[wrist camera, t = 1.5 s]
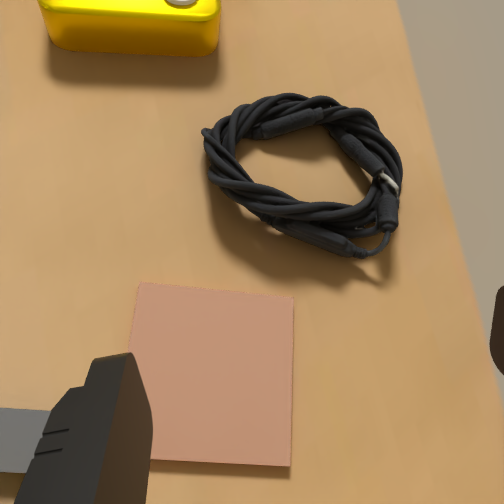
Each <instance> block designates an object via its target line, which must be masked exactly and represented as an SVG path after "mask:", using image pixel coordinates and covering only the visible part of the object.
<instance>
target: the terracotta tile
mask: <svg viewBox="0 0 504 504" xmlns="http://www.w3.org/2000/svg"><path fill="white" fill-rule="evenodd" d="M293 303H294V297H285V296H275V295H265V294H255V293H245V292H236V291H226V290H216V289H206V288H196V287H186V286H176V285H166V284H157V283H147V282H139V288H138V293H137V299H136V305H135V311H134V317H133V323H132V329H131V335H130V340H129V346H128V352H131V353H132V354H133V355H134V357H135V360H136V362H137V366H138V369H139V372H140V375H141V378H142V381H143V385H144V388H145V391H146V394H147V397H148V400H149V404H150V407H151V412H152V419H153V440H152V449H151V458H150V459H160V460H178V461H197V462H216V463H235V464H254V465H272V466H290V456H291V405H292V354H293ZM128 352H127V353H128Z"/></svg>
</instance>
